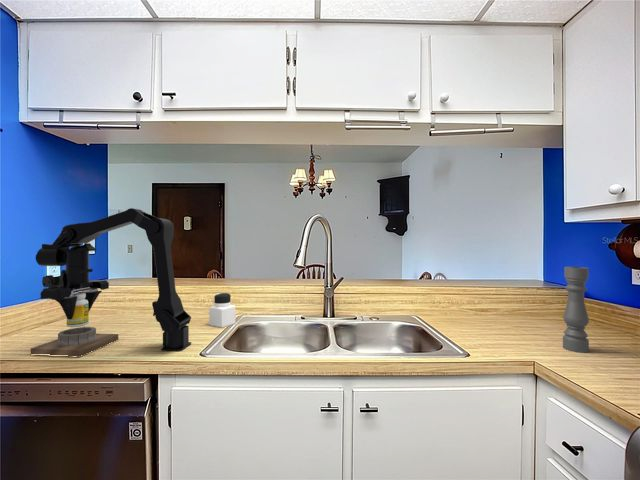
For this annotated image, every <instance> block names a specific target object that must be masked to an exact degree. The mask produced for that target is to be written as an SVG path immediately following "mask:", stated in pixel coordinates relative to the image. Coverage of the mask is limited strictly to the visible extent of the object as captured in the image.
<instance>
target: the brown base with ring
mask: <svg viewBox="0 0 640 480" xmlns="http://www.w3.org/2000/svg"><path fill="white" fill-rule="evenodd" d="M116 340H118V341H119V334H118V333H99V332H97V328H96V327H95V326H80V327H72V328H69V329H64V330H61V331H60V332H57V339H54V340H52V341H49V342H46V343H43V344H40V345H37V346H35V347H31V348H30V355H31V354H50V355H68V356H81V355H84V354H86V353H89V352H91V351H93V352H95V351H97V350H99V349H98V348H100V347H102V348H104V347H106V346H108V345H107V344H109V343H111V342H113V343H115V342H117V341H116ZM114 341H115V342H114ZM111 344H112V343H111ZM105 345H106V346H105ZM109 345H110V344H109ZM103 346H104V347H103ZM96 349H97V350H96ZM100 349H101V348H100ZM94 350H95V351H94ZM91 353H92V352H91ZM89 354H90V353H89ZM86 355H87V354H86ZM84 356H85V355H84Z"/></svg>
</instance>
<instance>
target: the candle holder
mask: <svg viewBox="0 0 640 480" xmlns="http://www.w3.org/2000/svg"><path fill="white" fill-rule="evenodd" d="M563 277H564V278H565V281H566V283H567V285H566V286H565V287H564V289H566V290H567V302H566V306H565V310H564V311H563V316H562V318H563V321H564V323H565V324H566V327H567V328H566V329H565V330H564V331H563V334H564V335H562V348H563V349H565V350H567V351H569V352H574V353H580V354H581V353H583V354H587V353H589V352H590V349H589V348H590V341H589V339H588V337H589V335H588V333H587V332H586V330H585V329H586V327H587V325H588V324H589V322H590V319H589V315H588V312H587V311H588V310H587V308H586V304H585V292H587V291H588V288H587V287H586V286H585V285H586V283H587V282H588V279H589V267H584V266H564V275H563Z"/></svg>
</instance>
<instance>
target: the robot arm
mask: <svg viewBox="0 0 640 480" xmlns="http://www.w3.org/2000/svg"><path fill="white" fill-rule="evenodd" d="M132 224H134V225H135V226H137V227H138V228H140V229H143V230H144V231H145V234H146V237H147V238H146V239H148V241H149V243H150V246H151V247H152V248H153V255H154V262H155V263H154V264H155V270H156V280H157V289H158V297H157V300H154V301H153V302H151V305H152V309H153V314H152V316H153V317H154V318H155V320H156V322H158V323H159V325H160V328H161V331H163V332H162V347H160V351H178V352H180V351H182V350H184V349H186V348H187V347H189V346H190V345H192V341H189V340H190V339H189V336H190V333H189V324H190V322H191V319H192V316H190V314H189V313H188V312H186V310H185V308H184V306H183V303H182V299H181V298H180V296H179V295H178V293H177V289H176V283H175V281H176V280H175V275H174V274H175V272H174V266H173V258H172V248H171V247H172V243H173V240H174V235H175V234H174V233H175V232H174V231H175V227H174V223H173V222H172V221H171V220H169V219H167V218H161V217H160V218H159V217H157V216H154V215H152V214H149V213H146V211H143V210H142V209H140V208H133V207H131V208H130V207H129V208H127V209H126V210H124V211H121V212H117V213H115V214H112V215H109V216H106V217H105V216H104V217H102V218H100V219H96V220H93V221H90V222H81V223H72V224H67V225H64V226H63V227H62V229H61V233H60V234H59V235H58V237H56V239H55V240H54V241H53V243H42V244H41V248H40V249H39V250H37V253H36V254H35V261H36V263H37V264H38V265H39V266H40V267H63V266H65V269H61V271H60V275H58V276H54V275H52V274H51V275H50V274H49V275H45V276H42V282H41V283H42V286H43V288H42V290H41V291H40V299H42V300H46V299H47V300H52V301H55V302H57V303H59V305H60V306H61V308H62V310H63V313H64V315H65V317H66V320H67V319H72V317H73V314H74V310H75V305H76V301H77V296H73V294H74V293H86V297H85V299H86V300H87V301H88V312H89V313H90V311H91V309H92V307H93V305H94V304H95V302H96V301H97V299H98V297H99V295H100V294H102V292H103V291H104V290H107V289H109V288H110V287H109V285H110V283H109V282H108V280H105V279H93V280H90V273H93V272H94V270H93V268H90V252H95V251H97V248H96V247H95V246H93V245H92V243H90V242H92V241H94V240H96V239H97V238H98V237H99V236H101V235H103V234H105V233H108V232H111V231H114V230H117V229H120V228H123V227H127V226H128V225H132ZM99 289H100V290H99ZM102 290H103V291H102Z"/></svg>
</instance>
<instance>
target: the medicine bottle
mask: <svg viewBox="0 0 640 480" xmlns="http://www.w3.org/2000/svg"><path fill="white" fill-rule="evenodd" d="M213 297H214V299H213V300H214V303H213V304H214V305H212V306H209V307H208V308H209V309H208V311H209V312H208V324H209V326H212V327H215V328H217V327H218V328H220V329H221V328H225V327H229V326H232V325H235V324H236V305H233V304H231V301H232V300H231V297H232V296H231V294H230V293H227V292H219V293H215V295H214V296H213Z"/></svg>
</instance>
